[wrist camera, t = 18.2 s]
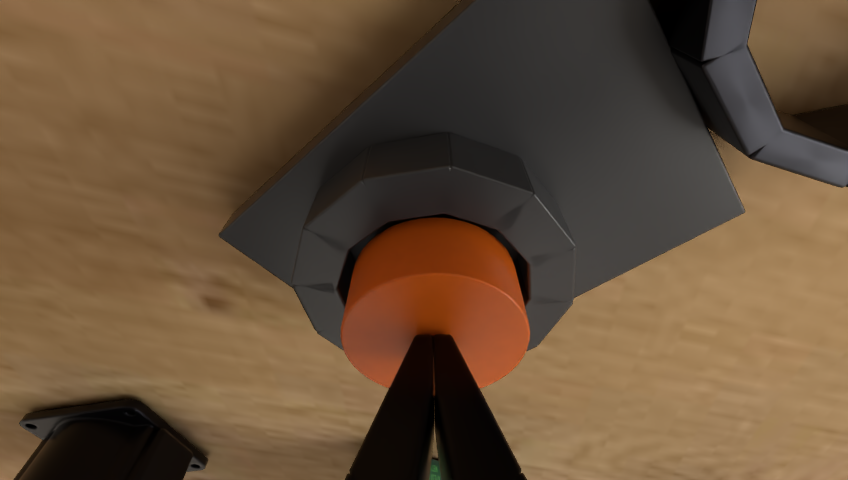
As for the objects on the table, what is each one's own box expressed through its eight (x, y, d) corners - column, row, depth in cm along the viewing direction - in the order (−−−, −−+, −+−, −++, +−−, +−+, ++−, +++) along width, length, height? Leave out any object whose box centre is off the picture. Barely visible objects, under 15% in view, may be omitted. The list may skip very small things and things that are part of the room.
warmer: (418, 351, 17) (417, 420, 15) (232, 213, 13) (188, 278, 11) (722, 190, 12) (792, 254, 10) (579, -110, 8) (641, -123, 6)
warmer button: (424, 354, 13) (424, 414, 12) (318, 275, 11) (300, 335, 9) (546, 290, 11) (566, 351, 10) (447, 183, 9) (450, 238, 8)
